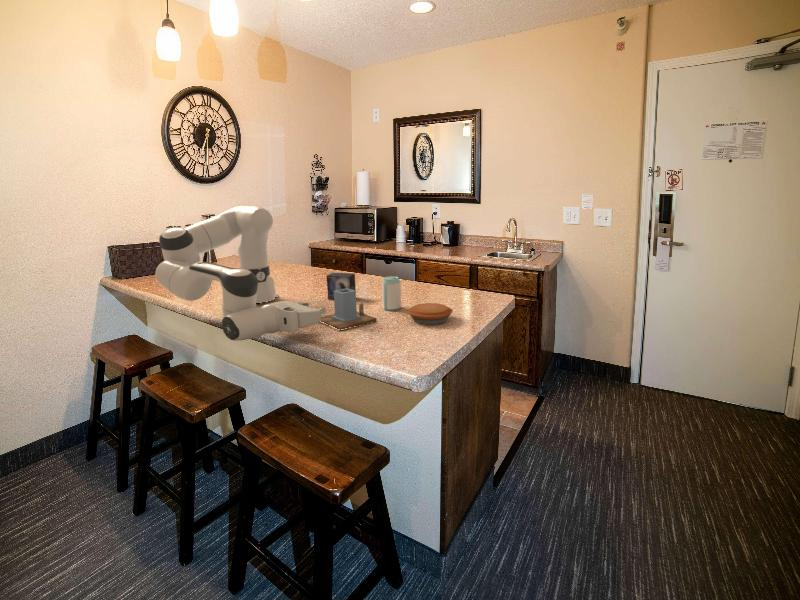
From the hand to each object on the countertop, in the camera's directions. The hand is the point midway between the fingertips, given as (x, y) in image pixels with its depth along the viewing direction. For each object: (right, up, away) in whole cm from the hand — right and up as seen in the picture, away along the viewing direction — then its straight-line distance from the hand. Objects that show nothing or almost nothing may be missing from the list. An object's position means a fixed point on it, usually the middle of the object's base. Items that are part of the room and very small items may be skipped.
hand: (316, 307), depth 147 cm
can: (+24, -1, +25) cm, 35 cm away
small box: (+3, +3, +42) cm, 43 cm away
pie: (+38, -5, +10) cm, 39 cm away
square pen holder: (+9, -4, +10) cm, 14 cm away
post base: (+9, -5, +10) cm, 14 cm away
